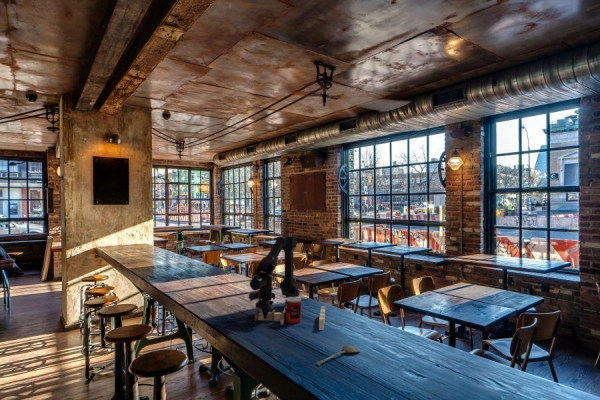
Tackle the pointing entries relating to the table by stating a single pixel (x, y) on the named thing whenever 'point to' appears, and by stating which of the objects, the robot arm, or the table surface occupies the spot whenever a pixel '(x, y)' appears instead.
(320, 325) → the stop rail
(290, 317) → the canned food
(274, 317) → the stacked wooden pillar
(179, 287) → the table surface
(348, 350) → the soupspoon
